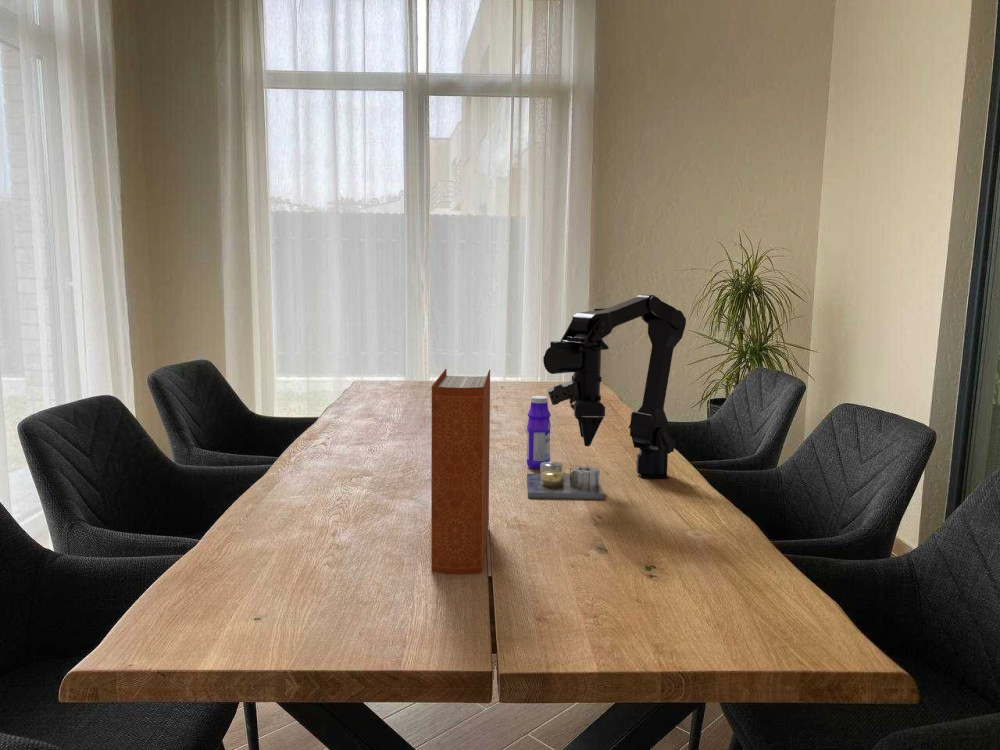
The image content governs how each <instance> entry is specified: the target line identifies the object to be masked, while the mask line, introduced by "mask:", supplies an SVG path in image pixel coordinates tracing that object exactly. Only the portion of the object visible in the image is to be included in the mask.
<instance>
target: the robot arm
mask: <svg viewBox="0 0 1000 750" xmlns="http://www.w3.org/2000/svg"><path fill="white" fill-rule="evenodd" d="M638 318H641V321H643V322H644V323H645V324H647V335H648V338H649V341H650V344H651V348H650V349H651V350H650V355H649V356H650V357H649V363H648V368H647V375H646V381H645V386H644V391H643V399H642V403H641V406H640V407H639V409H638V410H637V411H632V412H631V415H630V422H629V424H628V425H629V426H628V429H629V435H630V437H631V441H632V444H633V445H632V446H633V448H635V449H638V451H639V452H638V453H637V454H636V465H635V469H636V470H635V471H636V472H637V474H638V476H639V477H640V478H641V479H642V478H643V479H645V478H646V479H647V478H648V479H669V477H670V476H669V474H668V458H669V455H670V454H671V453H673V452H674V451H675V448H676V444H677V443H676V442H675V440H674V439H673V437H672V436H671V435H670V433H669V432H668V430H669V429H668V427H669V426H668V425H669V421H668V419H667V416H666V412H665V410H664V406H665V402H666V396H667V391H668V389H667V388H668V384H669V377H670V371H671V366H672V360H673V353H674V350H675V349H674V348H675V347H676V346H677V344H678V343H679V342H680V341H681V339H682V338H683V335H684V331H685V329H686V325H687V319H686V318H687V317H686V316H685V315H684V312H682V311H681V310H679V309H676V308H675V307H674V306H672V305H671V304H669V303H666V302H664V301H663V300H661V299H660V298H659V297H657V295H654V294H638V295H637V296H635V297H632V298H630V299H628V300H626V301H623V302H620V303H617V304H615V305H613V306H609V307H607V308H605V309H601V310H589V311H580V312H577V313H575V314H574V315H573V316H572V319H571V322H570V324H569V325H568V326H567V329H566V331H565V332H564V334H563V336H562V337H561V340H560V341H557V340H556V341H555V340H551V341H550V344H549V345H550V346H549V347H548V348H547V349H546V351H545V352H544V356H543V357H542V359H543V365H544V368H545V370H546V371H547V372H548V373H549V374H550V375H557V374H568V373H569V374H570V373H573V374H572V375H571V380H570V381H567V382H564V383H563V382H562V383H558V384H557V385H553V386H551V387H548V388H547V389H546V390H547V394H548V397H549V399H550V402H551V405H552V406H555V405H558V404H560V403H562V402H564V401H565V402H566V401H567V400H569V401H568V402H569V406H570V408H571V409H572V410H573V414H574V418H575V419H577V421H578V422H577V423H578V427H579V433H580V437H581V438H583V443H584V446H585V447H590V446H591V444H592V442H593V440H594V439H595V436H596V434H597V432H598V429H599V428H600V426H601V423H602V422H603V420H604V418H605V416H606V407H605V405H604V404H603V402H601V401H602V396H601V383H602V378H603V377H602V376H601V371H602V368H601V367H602V351H603V350H604V351H606V350H607V351H608V350H609V348H610V347H609V346H608V345H607V344H606V342H605V341H604V340H603V339H604V338H605V337H607V336H608V335H610V334H611V333H612V331H613V329H614V328H617V327H618V326H620V325H622V324H626V323H627V322H630V321H633V320H635V319H638Z"/></svg>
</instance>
